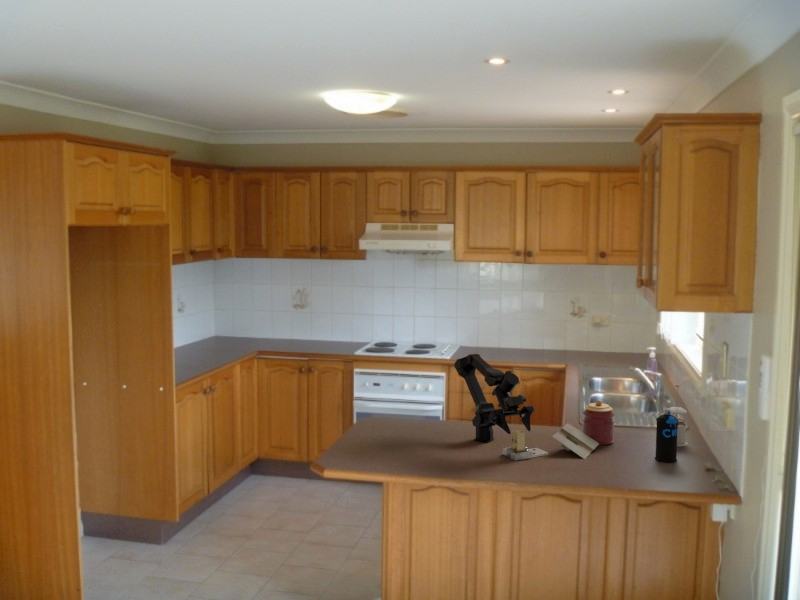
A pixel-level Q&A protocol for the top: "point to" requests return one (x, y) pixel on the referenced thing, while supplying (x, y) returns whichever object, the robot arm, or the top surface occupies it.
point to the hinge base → (524, 453)
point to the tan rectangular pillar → (518, 441)
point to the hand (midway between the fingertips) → (519, 432)
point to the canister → (599, 422)
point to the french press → (680, 423)
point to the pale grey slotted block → (575, 441)
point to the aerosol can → (666, 438)
